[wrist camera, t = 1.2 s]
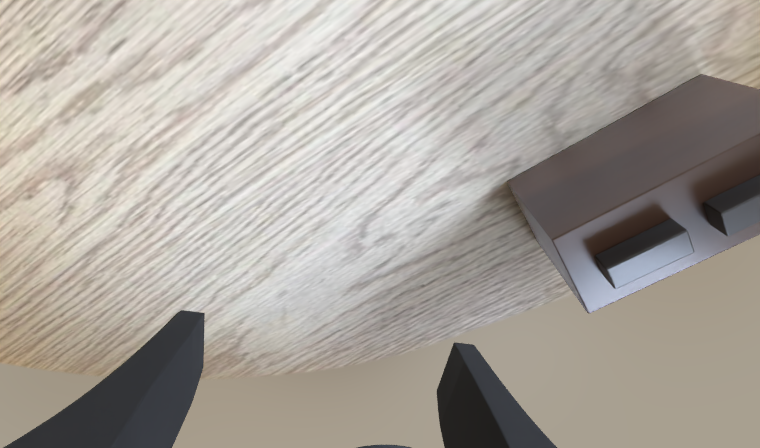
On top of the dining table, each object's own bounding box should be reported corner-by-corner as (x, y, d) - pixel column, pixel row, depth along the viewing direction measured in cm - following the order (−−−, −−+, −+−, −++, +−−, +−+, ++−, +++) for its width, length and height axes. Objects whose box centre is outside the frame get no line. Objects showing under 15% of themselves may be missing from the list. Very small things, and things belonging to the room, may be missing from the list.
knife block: (720, 151, 23) (856, 213, 17) (539, 244, 25) (599, 330, 19) (701, 73, 21) (846, 110, 15) (506, 181, 23) (561, 253, 17)
